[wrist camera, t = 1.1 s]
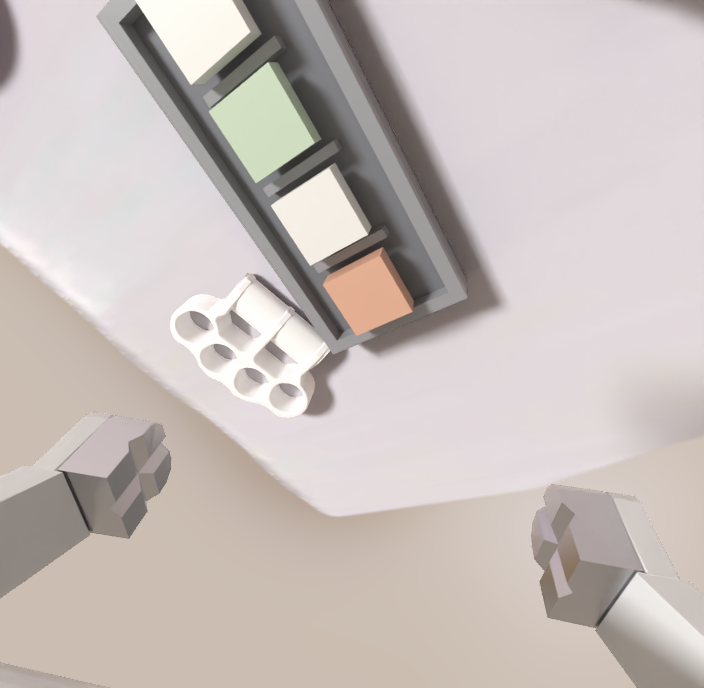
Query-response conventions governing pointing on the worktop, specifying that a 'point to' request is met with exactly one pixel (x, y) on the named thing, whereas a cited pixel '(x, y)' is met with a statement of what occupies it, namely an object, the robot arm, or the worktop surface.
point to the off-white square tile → (322, 215)
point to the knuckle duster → (253, 345)
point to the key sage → (265, 122)
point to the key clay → (369, 292)
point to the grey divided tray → (305, 155)
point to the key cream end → (201, 33)
